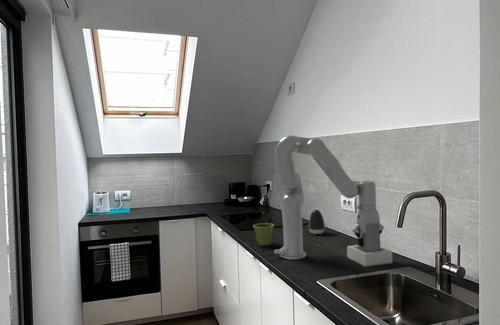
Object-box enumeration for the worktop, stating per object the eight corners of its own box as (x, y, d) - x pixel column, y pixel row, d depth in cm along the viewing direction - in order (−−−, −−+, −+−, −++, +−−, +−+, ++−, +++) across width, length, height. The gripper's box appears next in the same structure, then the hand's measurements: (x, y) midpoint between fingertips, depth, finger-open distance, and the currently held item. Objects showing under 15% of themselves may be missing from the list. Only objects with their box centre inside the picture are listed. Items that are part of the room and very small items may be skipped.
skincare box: (381, 257, 162) (381, 223, 162) (371, 259, 159) (370, 224, 158) (366, 253, 169) (366, 220, 169) (356, 255, 166) (356, 222, 165)
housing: (365, 266, 155) (365, 254, 155) (347, 257, 170) (346, 246, 169) (392, 263, 159) (392, 251, 159) (372, 254, 173) (372, 243, 173)
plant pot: (260, 241, 206) (259, 222, 206) (278, 243, 200) (277, 224, 200) (249, 246, 196) (249, 226, 196) (268, 248, 190) (267, 228, 190)
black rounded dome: (324, 231, 226) (323, 208, 225) (326, 235, 215) (325, 210, 215) (308, 232, 227) (307, 208, 226) (309, 235, 216) (308, 211, 216)
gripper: (355, 210, 158) (356, 249, 158) (388, 207, 162) (389, 245, 163) (346, 207, 165) (347, 245, 165) (378, 205, 170) (379, 241, 170)
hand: (368, 244), depth 164 cm, fingers closed on skincare box, 7 cm apart
